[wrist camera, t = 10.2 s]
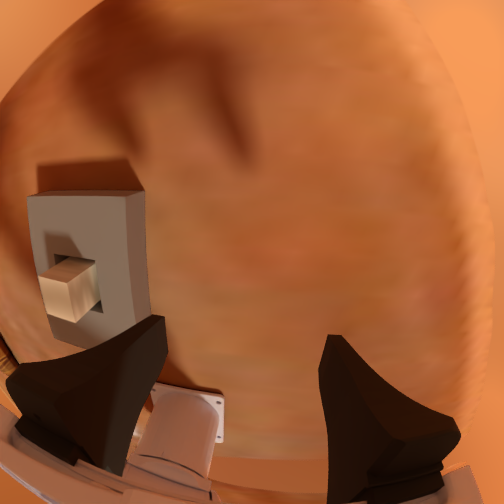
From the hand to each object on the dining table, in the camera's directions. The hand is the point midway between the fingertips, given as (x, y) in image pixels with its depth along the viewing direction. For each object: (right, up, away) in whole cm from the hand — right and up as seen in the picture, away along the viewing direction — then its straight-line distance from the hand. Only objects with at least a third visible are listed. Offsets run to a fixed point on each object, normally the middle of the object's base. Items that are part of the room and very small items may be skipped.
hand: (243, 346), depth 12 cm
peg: (-13, +3, +10) cm, 17 cm away
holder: (-13, +2, +10) cm, 17 cm away
